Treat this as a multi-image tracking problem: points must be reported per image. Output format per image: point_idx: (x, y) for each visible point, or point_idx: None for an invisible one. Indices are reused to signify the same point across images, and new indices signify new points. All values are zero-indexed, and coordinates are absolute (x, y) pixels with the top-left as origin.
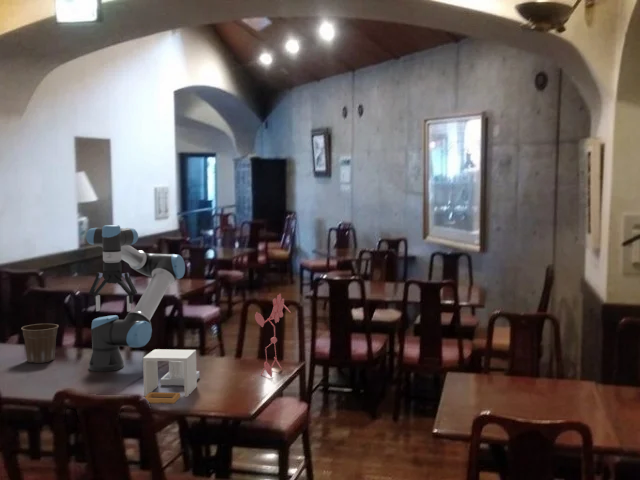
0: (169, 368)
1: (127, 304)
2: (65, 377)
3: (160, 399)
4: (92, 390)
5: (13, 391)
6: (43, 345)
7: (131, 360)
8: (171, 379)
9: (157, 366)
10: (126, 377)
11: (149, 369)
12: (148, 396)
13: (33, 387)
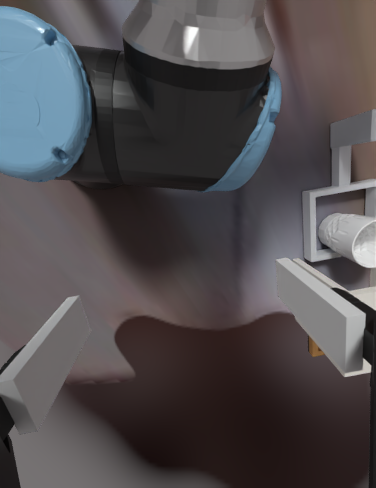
0: (342, 254)
1: (304, 322)
2: (64, 251)
3: None
4: (184, 315)
5: None
6: None
7: (122, 40)
8: (335, 257)
9: (323, 275)
10: (203, 217)
11: None
12: (317, 345)
13: None
